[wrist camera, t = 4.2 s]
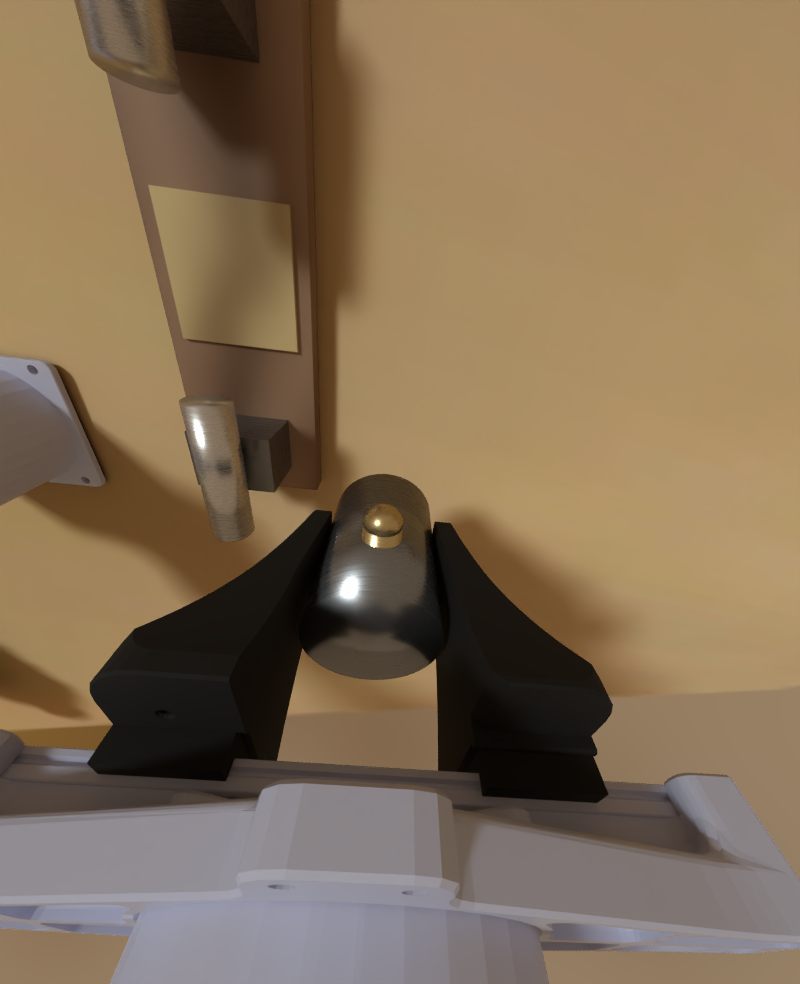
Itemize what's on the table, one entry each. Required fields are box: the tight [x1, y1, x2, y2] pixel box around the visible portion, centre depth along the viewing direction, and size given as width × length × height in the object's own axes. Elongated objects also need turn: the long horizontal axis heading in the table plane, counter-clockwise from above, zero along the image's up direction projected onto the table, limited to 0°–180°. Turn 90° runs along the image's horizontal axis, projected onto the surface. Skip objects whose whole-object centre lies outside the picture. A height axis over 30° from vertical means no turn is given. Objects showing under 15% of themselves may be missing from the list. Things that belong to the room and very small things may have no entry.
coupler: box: [298, 474, 443, 680], centre depth 11 cm, size 4×6×6 cm, turn 174°
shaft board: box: [107, 0, 321, 490], centre depth 15 cm, size 7×22×1 cm, turn 174°
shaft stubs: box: [74, 0, 292, 542], centre depth 12 cm, size 4×23×5 cm, turn 174°
